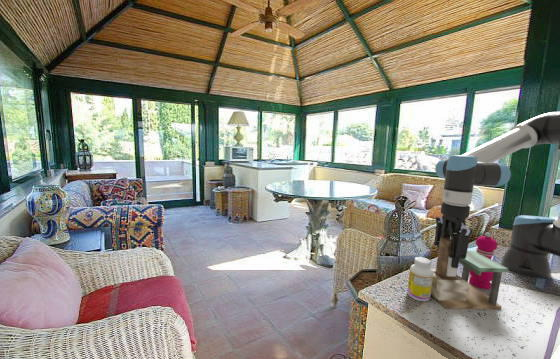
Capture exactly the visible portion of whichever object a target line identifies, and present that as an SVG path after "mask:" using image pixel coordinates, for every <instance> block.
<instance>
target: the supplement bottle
mask: <svg viewBox="0 0 560 359" xmlns="http://www.w3.org/2000/svg"><path fill="white" fill-rule="evenodd" d="M413 262H414V264H411V265H410V268H409V274H408V275H409V276H408V283H407V294H408V296H409V297H410V298H411V299H413V300H415V301H418V302H429V301H430V299H431V296H432V295H431V287H432V279H433V270H432V269H433V268H431V266H432V261H431V259H429V258H425V257H423V256H415V257H414V260H413Z"/></svg>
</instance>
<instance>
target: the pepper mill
mask: <svg viewBox="0 0 560 359" xmlns="http://www.w3.org/2000/svg"><path fill="white" fill-rule="evenodd" d="M491 236H492V234H491V233H490V232H485V233H484V235H481V236H478V237H477V238H476V240H475V245H476V246H477V247H476V250H475V251H476V252H477V253H479V254H481V255H483V256H485V257H487V258H489V259H491V260H492V257H494V255H495V250H497V248H498V242H497V240H496V239H494V238H493V237H491ZM492 277H493V272H481V275H478V274H476V273H474V272H473V271H471V270H470V272H469V278H468V283H469V284H471V285H472V286H474V287H475V288H477V289H482V290H490V288H491V282H492Z"/></svg>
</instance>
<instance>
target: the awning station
mask: <svg viewBox="0 0 560 359" xmlns="http://www.w3.org/2000/svg"><path fill="white" fill-rule="evenodd" d="M459 264H461V265H462V272H461V276H460V275H457V274H456V279H455V280H443V279H441V278H440V277H439V276H438V275H436V274H435V273H436V268H431V269H432V270H433V279H432V287H431V295H430V296H432V297H433V299H435V300H436V301H437V302H438V303H439V304H440V305H441V306H442V307H443V308H444V309H464V310H465V309H469V310H470V309H471V310H478V309H479V310H480V309H481V310H502V305H501V304H499V303H498V297H499V291H500V286H501V279H502V275H503V273H509V269H508V268H506V267H505V266H503V265H502V264H501V263H499V262H497V261H494V260H493V259H492V258H491V259H489V258H487V257H485V256H483V255H481V254H479V253H477V252H476V250H467V254H466V258H465V259H459ZM470 270H471V271H473V272H474V273H476V274H478V275H481V272H493V277H492V281H490V282H491V288H490V289H489V294H488V295H489V296H488V295H486V294H485V293H484V292H482V291H481V290H480V289H479V288H477V287H475V286H473V285H472V284H471V283H470V282H469V279H470V273H469V272H470Z"/></svg>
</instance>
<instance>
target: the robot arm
mask: <svg viewBox="0 0 560 359" xmlns="http://www.w3.org/2000/svg"><path fill="white" fill-rule="evenodd" d="M546 144H547V145H549V144H550V145H551V144H553V145H554V144H555V145H558V146H557V151H559V152H560V111H559V110H558V111H557V110H556V111H551V112H547V113H543V114H539V115H537V116H535V117H531V118H530V119H527V120H524V121H523V122H520V123H518V124H516V125H514V126H513V127H511V128H510V129H509V131H507V132H506V133H504V134H502V135H500V136H497V137H496V138H493V139H491V140H489V141H488V142H485V143H483V144H481V145H479V146H477V147H475V148H472V149H471V150H469V151H466V152H465V153H462V154H461V155H460V154H451V155H450V156H448V158H445V159H440V160H438V162H437V163H436V165H435V168H434V171H435V174H436V175H437V177H439V178H441V179H444V187H443V193H442V194H443V195H442V203H441V206H440V214H442V216H440V217H436V218H435V223H436V224H435V232H434V233H435V234H434V235H435V236H434V242H433V244H434V246H436V247H437V249H438V251H439V244H440V237H447V238H450V237H451V256H450V255H449V258H448V265H447V272H446V276H454V277H456V275H457V272H456V271H457V270H458V268H459V264H460V263H459V259H465V258H466V254H467V251H468V248H469V243H470V238H471V236H472V233H473V231H474V230H473V229H471V228H468V227H467V226H466V225H467V224H466V220H467V218H469V217H470V212H471V207H470V206H471V204H472V198H473V192H474V191H473V190H474V186H475V187H476V186H478V187H480V186H482V187H500V186H503V185H506V184H507V183H508V182H509V181H510V180H511V176H512V173H511V170H510V168H509V166H508V165H507V164H504V163H502V162H501V163H499V162H496V161H499V160H501V159H503V158H505V157H507V156H509V155H511V154H513V153H516V152H517V151H520V150H521V149H529V148H533V147H534V146H536V145H546ZM558 217H559V218H558V219H555V218H551V217H546V216H537V215H527V214H526V215H525V214H523V215H522V214H521V215H517V216H516V217H515V218H514V221H513V223H512V231H511V237H510V242H509V247H508V249H507V251H506V252H505V253H504V255H503V256H502V257H501V261H500V265H502V266H504V267H506V268H508V270H511V271H513V272H514V273H517V274H521V275H523V276H527V277H532V278H538V279H539V278H540V279H549V278H551V276H552V269H551V266H550V261H549V254H551V255H553V256H556V257H559V258H560V215H559V216H558ZM438 251H437V252H438Z"/></svg>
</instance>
